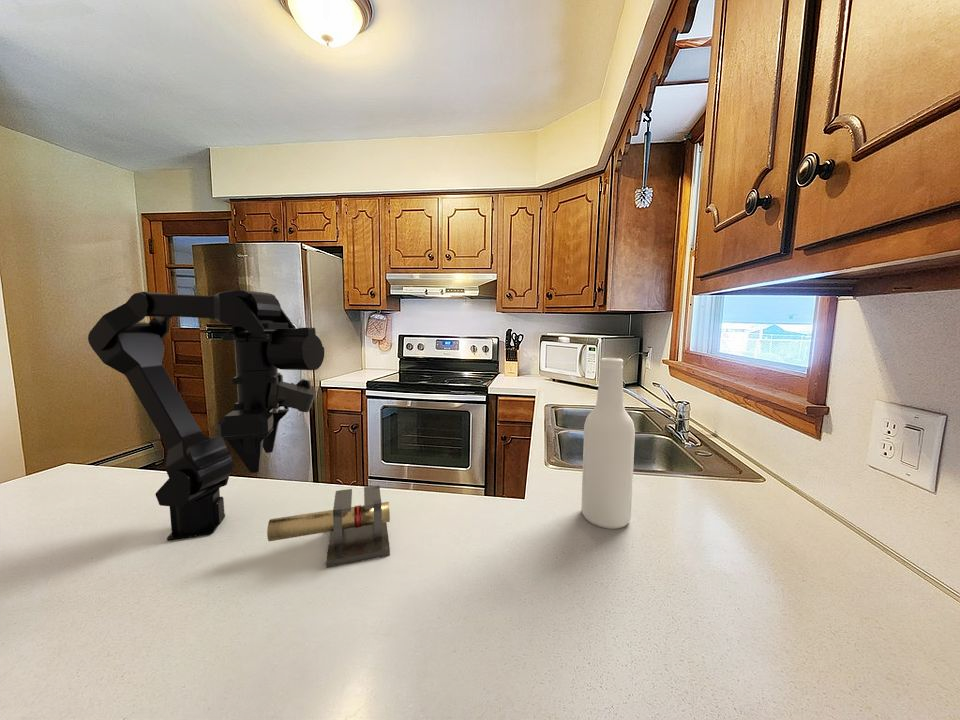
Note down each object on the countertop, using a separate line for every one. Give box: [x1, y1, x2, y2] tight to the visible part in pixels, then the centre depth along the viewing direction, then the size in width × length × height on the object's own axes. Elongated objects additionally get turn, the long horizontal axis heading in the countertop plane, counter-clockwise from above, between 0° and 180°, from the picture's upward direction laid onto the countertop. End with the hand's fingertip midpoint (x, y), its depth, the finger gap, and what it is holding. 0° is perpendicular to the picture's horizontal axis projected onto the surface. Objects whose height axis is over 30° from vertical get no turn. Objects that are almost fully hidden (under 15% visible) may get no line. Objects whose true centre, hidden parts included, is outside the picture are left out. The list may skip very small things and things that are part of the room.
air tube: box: [266, 501, 391, 542], centre depth 58 cm, size 18×3×3 cm, turn 108°
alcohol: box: [580, 357, 636, 530], centre depth 66 cm, size 9×9×30 cm
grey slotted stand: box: [325, 484, 391, 569], centre depth 60 cm, size 9×12×7 cm
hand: (262, 461), depth 60 cm, fingers open, 9 cm apart
